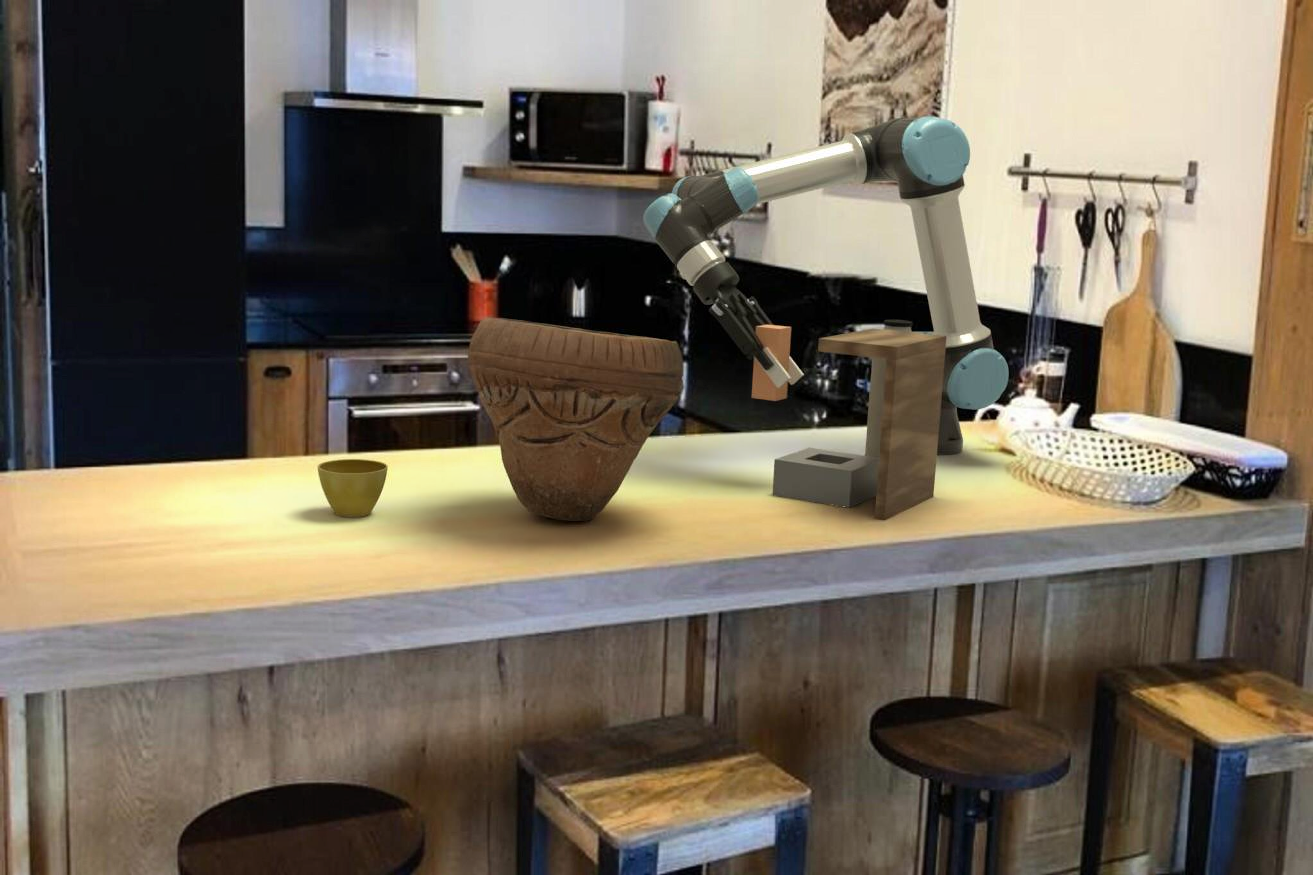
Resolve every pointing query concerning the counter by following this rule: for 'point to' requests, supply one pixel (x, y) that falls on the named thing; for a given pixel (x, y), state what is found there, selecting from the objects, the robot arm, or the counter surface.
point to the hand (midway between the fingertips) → (790, 381)
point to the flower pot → (352, 485)
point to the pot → (571, 407)
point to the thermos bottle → (879, 393)
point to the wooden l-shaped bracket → (903, 411)
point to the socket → (826, 477)
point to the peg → (780, 348)
